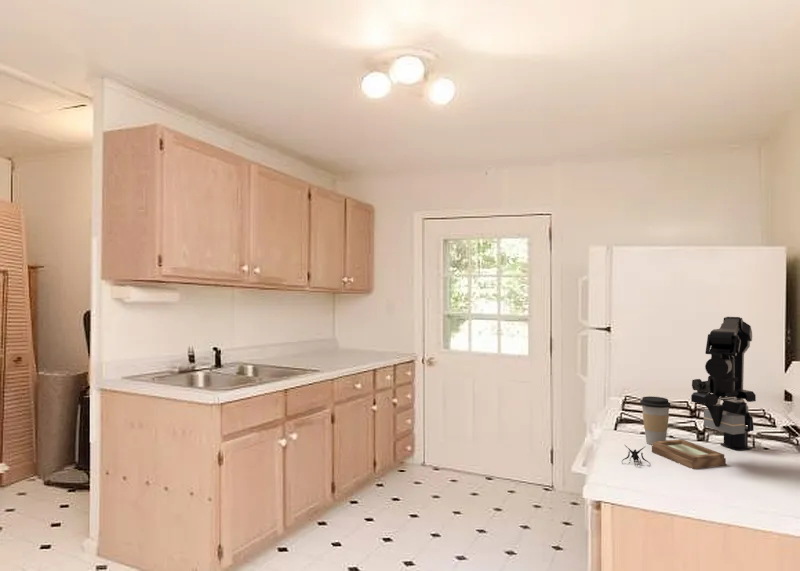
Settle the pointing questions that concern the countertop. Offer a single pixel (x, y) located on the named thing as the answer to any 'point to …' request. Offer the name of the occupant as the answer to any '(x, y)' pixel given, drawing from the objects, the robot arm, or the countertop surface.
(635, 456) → the creature
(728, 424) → the glasses case
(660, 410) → the coffee cup
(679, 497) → the countertop surface
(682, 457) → the wooden picture frame
